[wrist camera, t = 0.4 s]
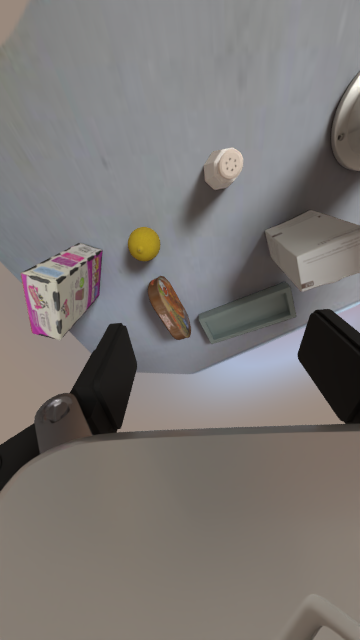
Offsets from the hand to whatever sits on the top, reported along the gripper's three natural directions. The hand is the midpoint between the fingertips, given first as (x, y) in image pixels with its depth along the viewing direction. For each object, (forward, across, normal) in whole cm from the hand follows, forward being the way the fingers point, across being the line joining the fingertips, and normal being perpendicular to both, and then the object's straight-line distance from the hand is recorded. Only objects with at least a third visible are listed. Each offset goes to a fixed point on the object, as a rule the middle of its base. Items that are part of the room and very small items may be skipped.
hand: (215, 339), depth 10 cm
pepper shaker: (+32, -5, -9) cm, 34 cm away
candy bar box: (+33, +22, +6) cm, 41 cm away
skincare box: (+32, -18, +2) cm, 36 cm away
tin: (+33, +5, +14) cm, 36 cm away
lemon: (+33, +8, +1) cm, 34 cm away
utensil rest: (+32, -11, +19) cm, 39 cm away
